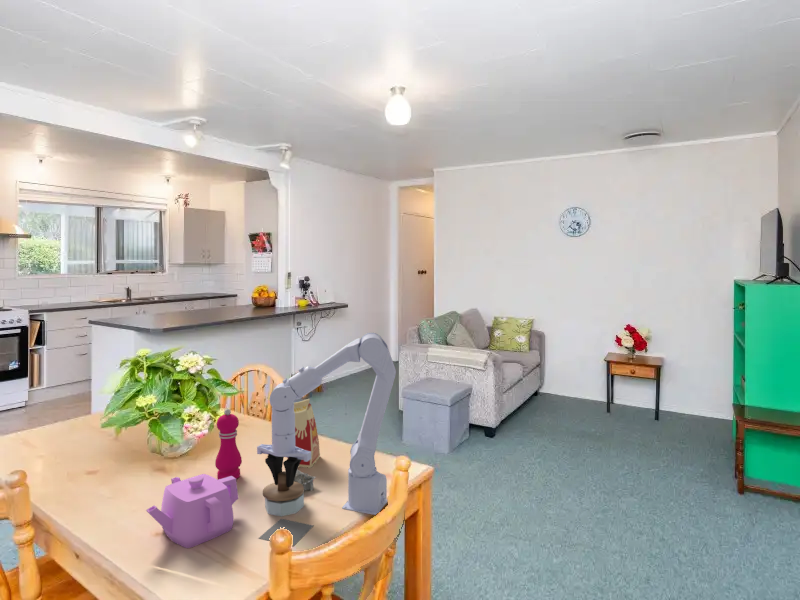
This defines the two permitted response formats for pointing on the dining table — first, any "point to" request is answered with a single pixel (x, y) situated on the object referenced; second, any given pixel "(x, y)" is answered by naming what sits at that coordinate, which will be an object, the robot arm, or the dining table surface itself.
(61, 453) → the dining table surface
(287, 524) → the mat
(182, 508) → the teakettle
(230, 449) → the pepper mill
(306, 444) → the milk carton
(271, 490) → the lid
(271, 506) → the bowl
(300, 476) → the egg carton
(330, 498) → the dining table surface
